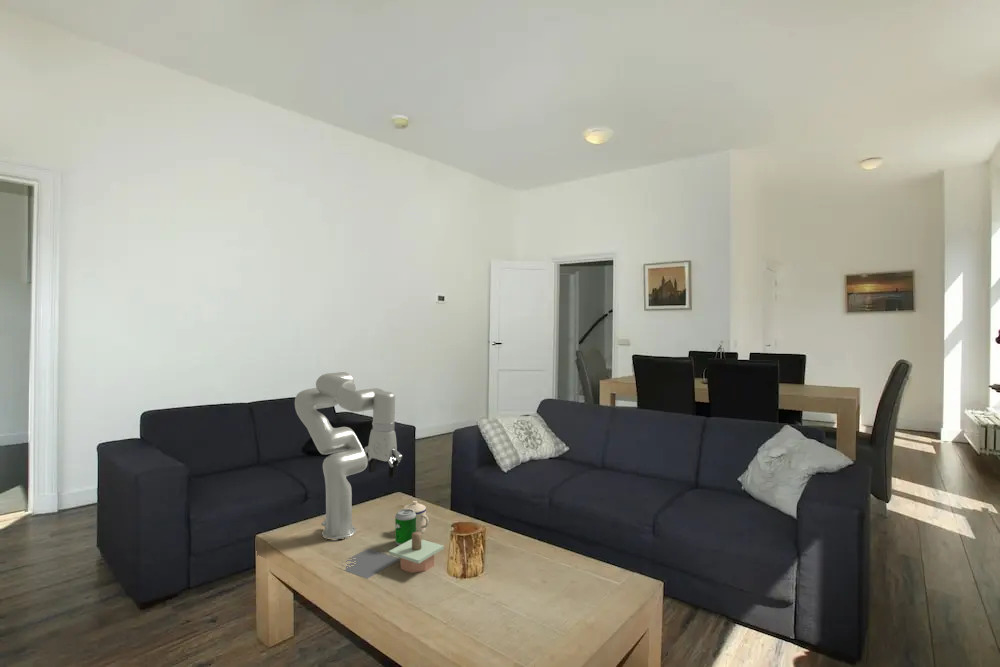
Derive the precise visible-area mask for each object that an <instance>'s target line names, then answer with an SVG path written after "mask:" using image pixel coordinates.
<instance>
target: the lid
mask: <svg viewBox="0 0 1000 667" xmlns="http://www.w3.org/2000/svg"><path fill="white" fill-rule="evenodd" d="M444 549H445V546H444V544H439V543H436V542H433V541H428V540H425V539H422V533H421V532H413V533H412V539H411V540H409V541H407V542H405V543H403V544H401V545H398V546H395V547H393V548H392V549H390V550H388V555H390V556H393V557H396V558H403V559H406V560H409V561H412V562H415V563H418V564H419V563H421V562H422V561H424V560H426V559H427V558H429V557H431V556H432V555H434V556H435V555H436V554H437V553H439V552H440V551H442V550H444Z"/></svg>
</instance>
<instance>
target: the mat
mask: <svg viewBox="0 0 1000 667" xmlns="http://www.w3.org/2000/svg"><path fill="white" fill-rule="evenodd" d="M351 557H352V558H351ZM351 557H349V558H347V559H352V560H347V561H351V562H354V561H356V562H354V563H356V564H354V563H350V564H347V565H350V566H351V565H354V566H351V567H349V566H346V570H343V571H345V572H347V573H351V574H353V575H356V576H358V577H361V578H364V579H366V580H368V579H369V578H371V577H373V576H374V575H376V574H378V573H380V572H382V571H384V570H386V569H387V568H389V567H391V566H392V565H394V564H396V563H398V562H399V561H400V557H397V556H393V555H390V554H387V553H384V552H380V551H377V550H374V549H371V548H366V549H365V550H363V551H360V552H358V553H357V554H355V555H353V556H351ZM353 558H356V559H353ZM347 561H346V562H347ZM342 566H343V565H342ZM347 567H348V568H347Z"/></svg>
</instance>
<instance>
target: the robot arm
mask: <svg viewBox="0 0 1000 667" xmlns="http://www.w3.org/2000/svg"><path fill="white" fill-rule="evenodd" d="M337 405H338V406H339V407H340V408H342V409H344V410H346V411H348V412H353V413H360V412H364V411H365V412H366V411H372V410H373V411H372V422H371V425H372V428H371V430H370V434H369V438H368V445H367V446H364V448H363V445H362V444H361V442H360V440H359V438H358V436H357V434H356V433H355V431H354V430H353V429H352V428H351V427H347V426H341V427H333V426H332V424H331V423H330V421H329V419H328V418H327V417H326V416H325V415H324V414H323V413H321V412H320V411H318V410H320V409H325V408H327V409H328V408H332V407H336V406H337ZM294 408H295V412H296V414H297V416H298V418H299V419H300V421H301V422H302V424H303V425H304V426H305V428H306V429H307V431H308V433H309V435H310V438H311V439H312V442H313V444H314V446H315V447H316V449H317V451H318V452H319V453H320V454H321V455H328V456H326V457H325V458H324V459H323V461H322V471H323V475H324V476H323V477H324V483H325V519H324V520H323V521H322V522H321V524H320V525H321V526H322V527H324V530H323V531H322V532H321V536H322V535H323V536H324V537H326V538H330V539H342V538H346V537H349V538H350V536H351V537H353V536H354V535H353V534H354V533H355V532H356V533H357V529H356V527H355V526H354V525H353V520H352V519H353V515H352V514H353V513H352V512H353V510H352V509H353V508H352V506H353V505H352V503H353V502H352V497H353V494H352V490H353V489H352V486H351V483H350V482H349V481H348V479H347V477H349V476H351V475H352V476H353V475H355V474H358V473H361V472H364V470H366V468H367V467H368V473H374V472H376V471H377V461H381V462H382V461H383V462H388V465H389V467H388V478H389V479H392V478H395V477H397V466H398V465H399V464H400V463H401V460H402V459H403V454H401V453H400V451H398V450H397V449H398V445H397V435H396V431H395V422H396V421H395V416H396V415H395V414H396V395H395V393H394V392H392V391H385V390H383V389H381V388H378V387H377V388H366V389H359V390H356V385H355V382H354V378H353V376H352V375H351V374H350V373H349V372H345V371H343V372H342V371H341V372H339V371H338V372H330V373H329V372H327V373H325V374H321V375H320V376H319V377H318V378H317V379H316V381H315V387H314V388H307V389H304V390H301V391H300V392H298V393H297V394H296V396H295V399H294ZM356 533H355V534H356ZM352 535H353V536H352ZM346 539H347V538H346Z"/></svg>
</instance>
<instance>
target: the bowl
mask: <svg viewBox="0 0 1000 667" xmlns="http://www.w3.org/2000/svg"><path fill="white" fill-rule="evenodd" d="M399 558H400V557H399ZM399 564H400V569H401V570H403V571H405V572H407V573H420V572H421V573H422V572H427V571H428V570H430V569H431V568H433V567H435V554H434V555H432V556H431V557H429V558H427V559H426V560H424V561H422V562H421V563H419V564H418V563H415V562H412V561H409V560H406V559H403V558H400V562H399Z"/></svg>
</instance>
